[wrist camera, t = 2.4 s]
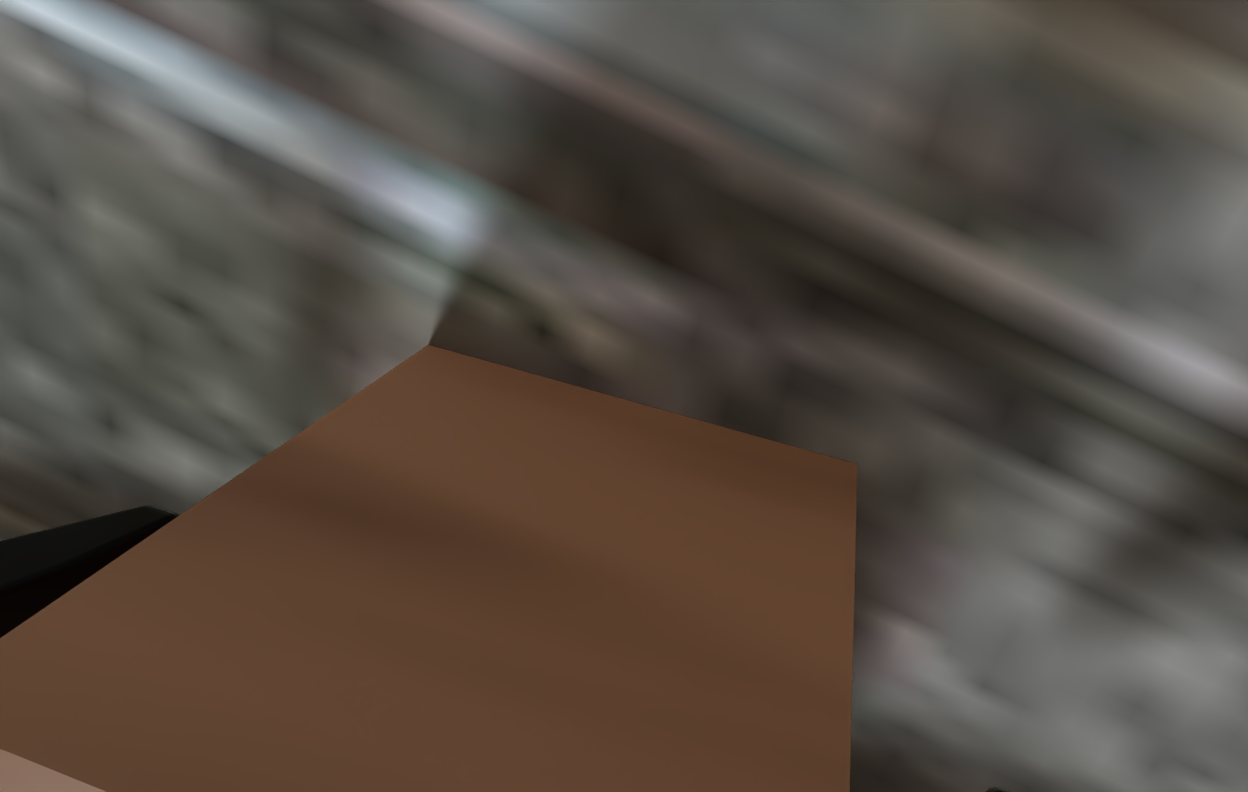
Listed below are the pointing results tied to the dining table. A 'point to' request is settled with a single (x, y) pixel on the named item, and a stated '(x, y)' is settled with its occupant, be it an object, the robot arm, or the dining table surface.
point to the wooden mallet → (463, 610)
